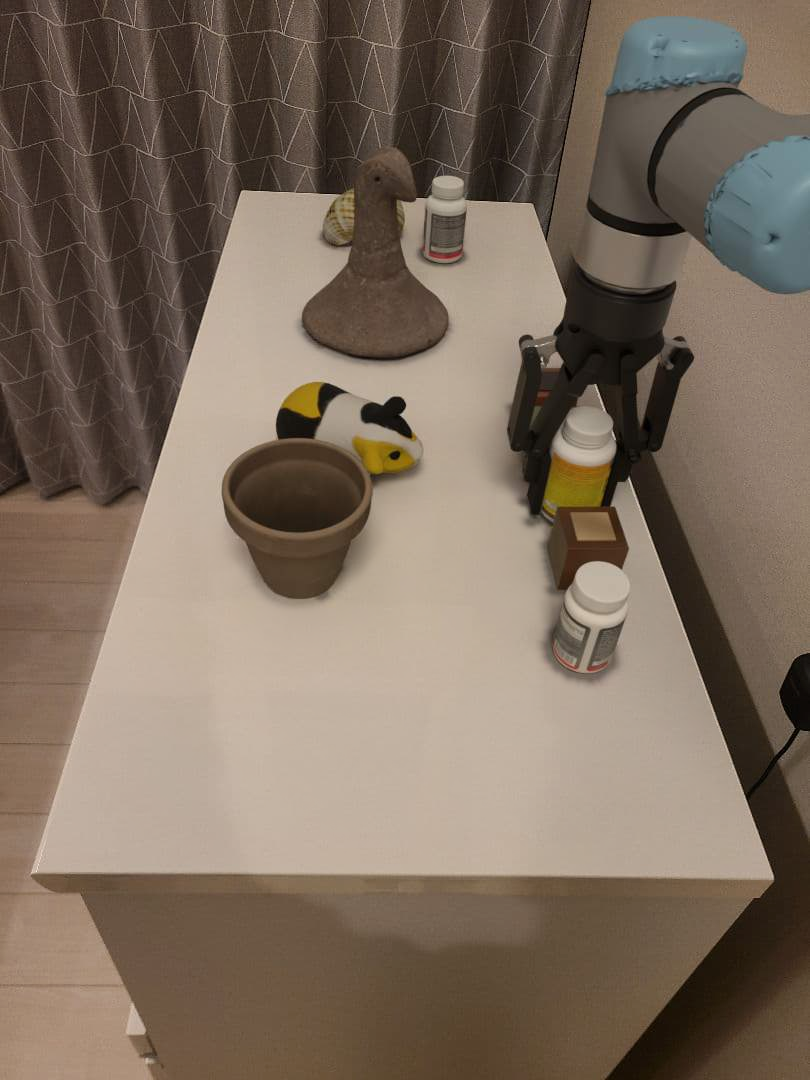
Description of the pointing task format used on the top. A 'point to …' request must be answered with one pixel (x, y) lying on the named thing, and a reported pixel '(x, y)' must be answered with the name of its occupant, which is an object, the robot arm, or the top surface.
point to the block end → (548, 385)
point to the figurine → (351, 426)
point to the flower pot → (297, 510)
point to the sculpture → (377, 275)
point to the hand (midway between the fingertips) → (567, 504)
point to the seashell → (347, 219)
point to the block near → (585, 540)
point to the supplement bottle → (579, 461)
